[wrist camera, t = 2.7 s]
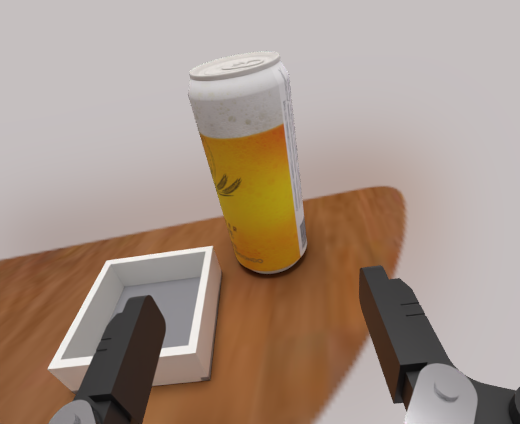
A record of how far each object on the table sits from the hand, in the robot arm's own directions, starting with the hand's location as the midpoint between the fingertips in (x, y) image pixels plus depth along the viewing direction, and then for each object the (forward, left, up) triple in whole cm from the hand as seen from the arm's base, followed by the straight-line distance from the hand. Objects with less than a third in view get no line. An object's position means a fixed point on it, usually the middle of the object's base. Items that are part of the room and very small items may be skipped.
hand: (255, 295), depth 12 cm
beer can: (0, +12, -9) cm, 15 cm away
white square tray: (-9, +6, -9) cm, 13 cm away
